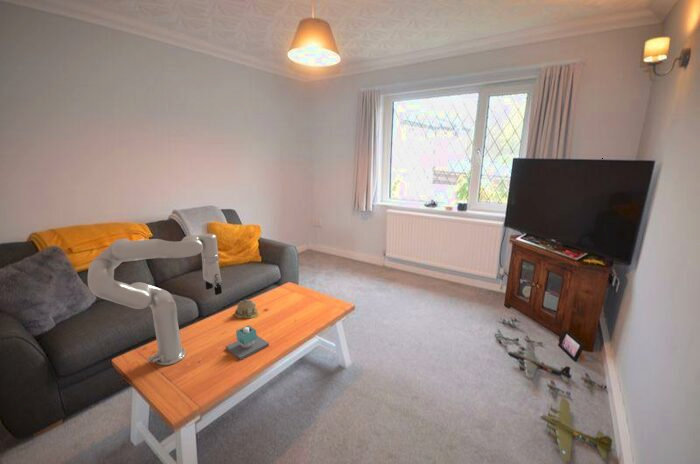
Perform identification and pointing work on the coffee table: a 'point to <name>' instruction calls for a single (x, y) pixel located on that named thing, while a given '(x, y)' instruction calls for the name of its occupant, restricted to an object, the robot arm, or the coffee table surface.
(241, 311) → the ceramic model
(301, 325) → the coffee table surface
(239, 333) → the collar
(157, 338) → the robot arm
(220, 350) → the coffee table surface
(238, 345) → the post plate
